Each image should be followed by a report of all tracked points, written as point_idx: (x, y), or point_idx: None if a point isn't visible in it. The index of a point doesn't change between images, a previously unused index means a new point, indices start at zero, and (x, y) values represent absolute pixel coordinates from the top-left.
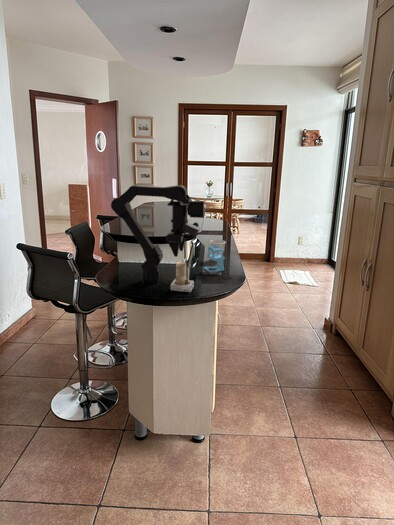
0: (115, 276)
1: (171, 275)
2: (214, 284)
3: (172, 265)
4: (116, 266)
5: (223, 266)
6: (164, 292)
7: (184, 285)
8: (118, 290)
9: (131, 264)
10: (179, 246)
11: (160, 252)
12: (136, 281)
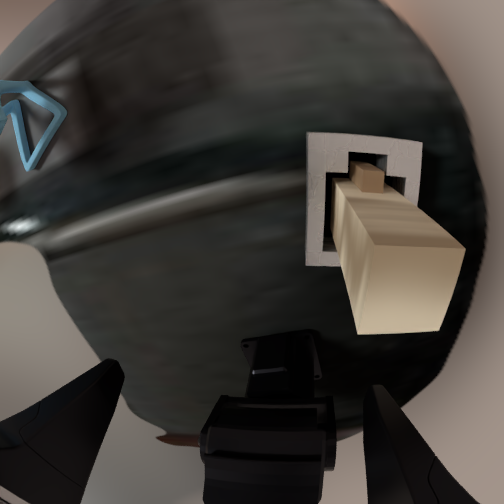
0: None
1: (170, 293)
2: (227, 24)
3: (67, 306)
4: (180, 436)
5: (15, 81)
6: None
7: (413, 183)
8: None
9: (141, 412)
10: (105, 416)
11: (261, 468)
12: None
